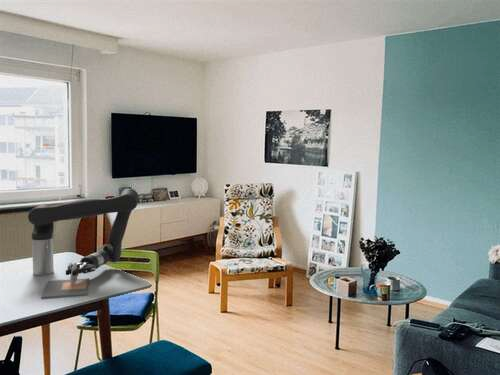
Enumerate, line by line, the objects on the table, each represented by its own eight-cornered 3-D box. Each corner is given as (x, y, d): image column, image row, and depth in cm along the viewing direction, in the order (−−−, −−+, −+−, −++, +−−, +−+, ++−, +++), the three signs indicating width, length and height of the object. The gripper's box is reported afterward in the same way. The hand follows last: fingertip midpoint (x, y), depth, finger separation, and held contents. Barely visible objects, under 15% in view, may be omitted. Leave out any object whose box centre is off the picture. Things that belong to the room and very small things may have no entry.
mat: (47, 282, 207) (47, 280, 207) (89, 279, 213) (89, 277, 213) (41, 298, 187) (41, 296, 187) (87, 295, 193) (87, 292, 193)
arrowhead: (73, 287, 198) (72, 265, 197) (67, 287, 198) (66, 265, 197) (80, 281, 206) (79, 260, 205) (75, 281, 206) (74, 260, 205)
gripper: (78, 253, 216) (55, 263, 199) (105, 255, 213) (83, 266, 196) (79, 268, 217) (56, 280, 200) (105, 271, 214) (84, 283, 197)
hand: (70, 273), depth 198 cm, fingers closed on arrowhead, 2 cm apart
